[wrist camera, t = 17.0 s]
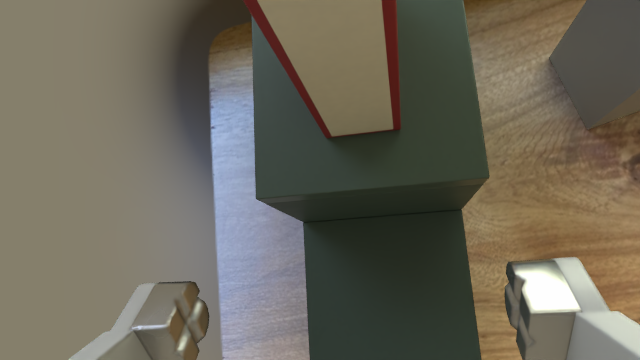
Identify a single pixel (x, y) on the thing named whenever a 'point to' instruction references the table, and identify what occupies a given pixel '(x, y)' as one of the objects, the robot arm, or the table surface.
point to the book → (338, 59)
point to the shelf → (383, 198)
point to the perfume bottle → (602, 60)
